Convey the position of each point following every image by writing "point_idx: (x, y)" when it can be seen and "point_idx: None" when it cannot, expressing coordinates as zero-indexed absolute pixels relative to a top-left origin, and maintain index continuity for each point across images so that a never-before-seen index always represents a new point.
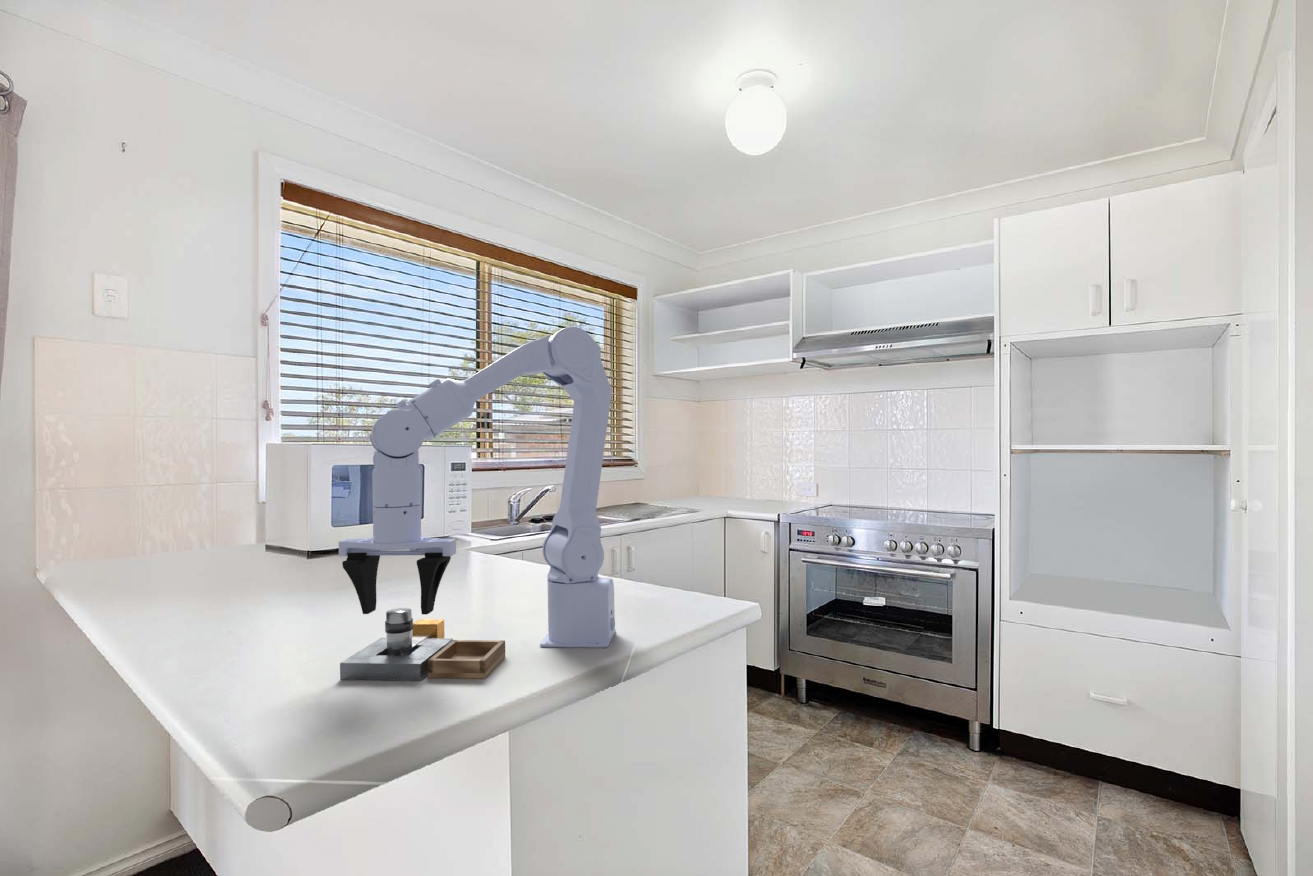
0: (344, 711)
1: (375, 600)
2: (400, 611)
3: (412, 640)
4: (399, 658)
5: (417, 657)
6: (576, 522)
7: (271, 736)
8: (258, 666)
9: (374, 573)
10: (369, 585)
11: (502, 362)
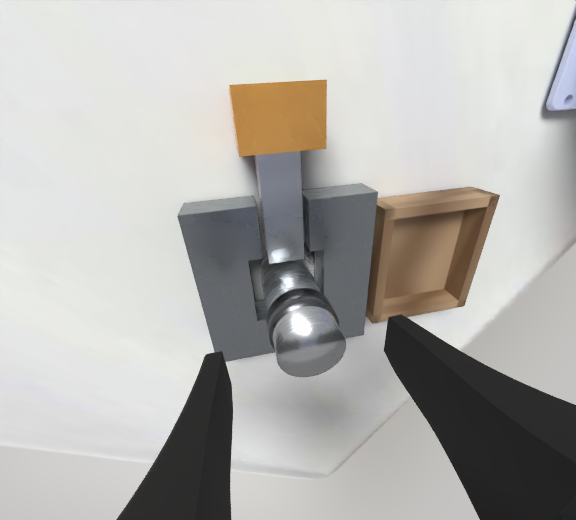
0: (297, 395)
1: (220, 376)
2: (319, 354)
3: (278, 217)
4: None
5: (346, 312)
6: None
7: (261, 443)
8: None
9: (207, 496)
10: (221, 465)
11: None
